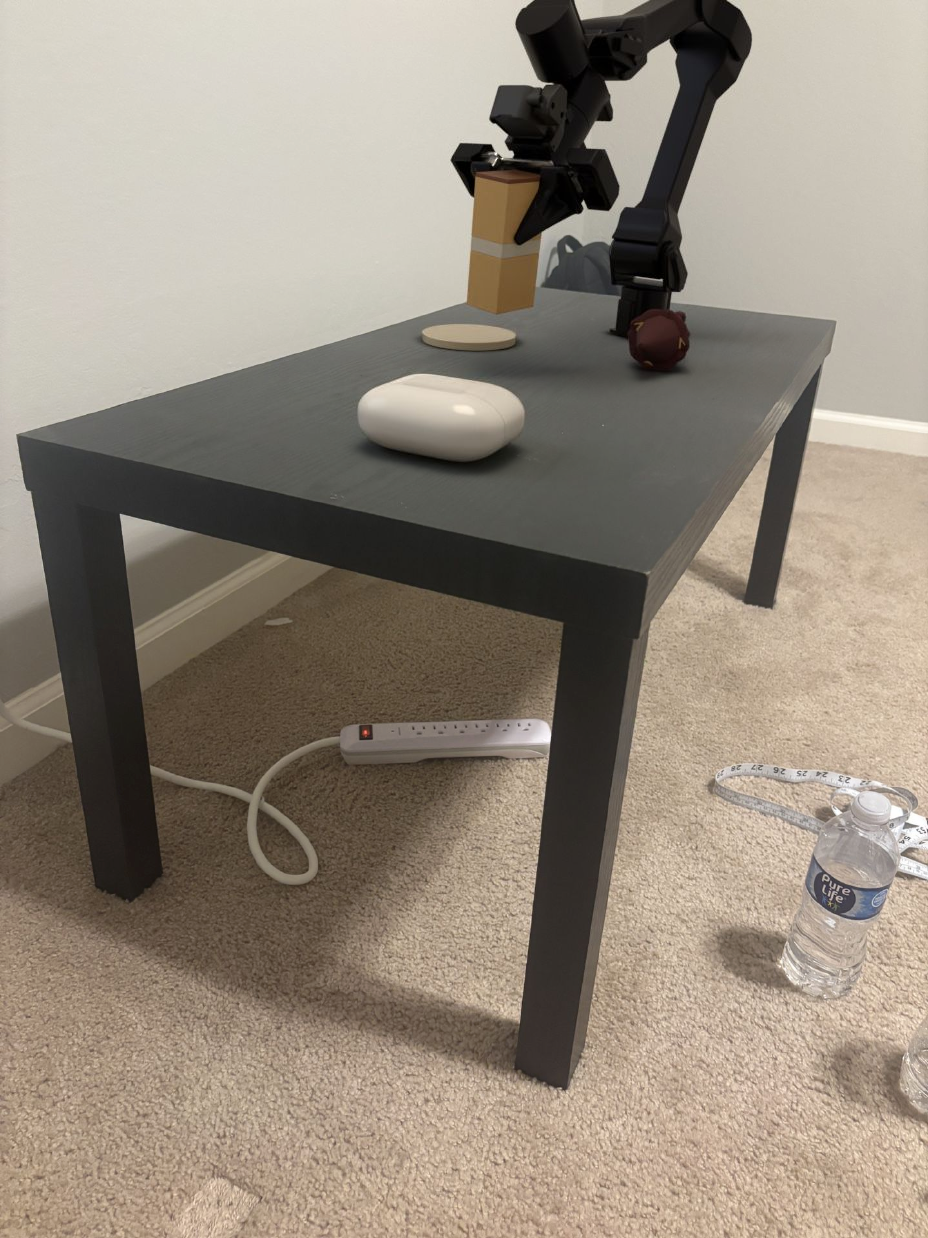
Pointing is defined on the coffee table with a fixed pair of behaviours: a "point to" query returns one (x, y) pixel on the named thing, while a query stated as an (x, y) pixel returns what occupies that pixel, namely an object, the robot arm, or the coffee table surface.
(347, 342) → the coffee table surface
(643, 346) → the maroon dungeon die
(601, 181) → the robot arm
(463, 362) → the coffee table surface
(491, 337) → the plate
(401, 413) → the earbud case
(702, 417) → the coffee table surface
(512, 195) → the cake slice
